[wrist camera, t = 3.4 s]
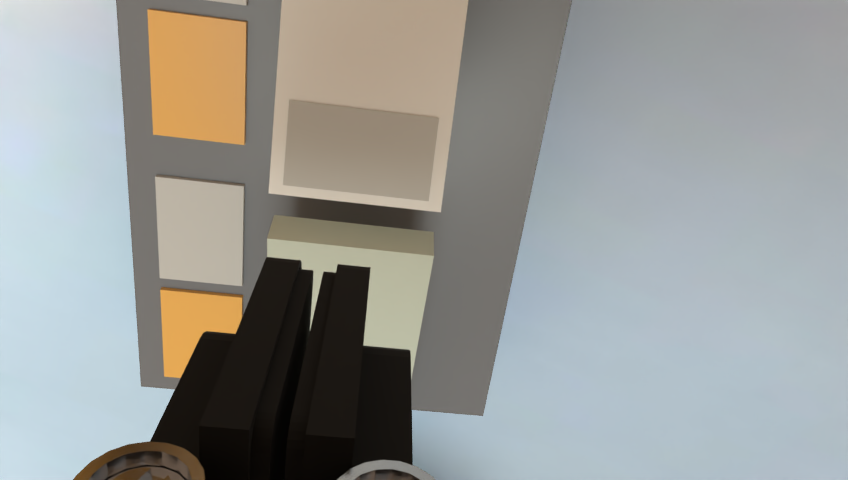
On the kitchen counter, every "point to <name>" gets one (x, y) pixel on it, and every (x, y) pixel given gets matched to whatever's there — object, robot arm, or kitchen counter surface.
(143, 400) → the kitchen counter surface
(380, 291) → the block
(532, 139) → the switch unit
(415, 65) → the rocker offwhite
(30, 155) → the kitchen counter surface
